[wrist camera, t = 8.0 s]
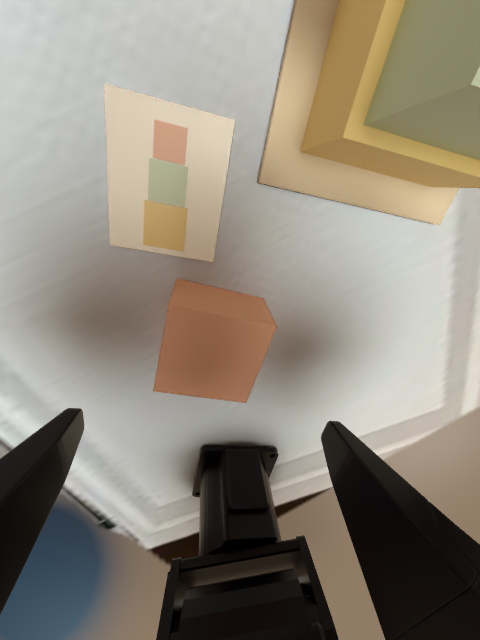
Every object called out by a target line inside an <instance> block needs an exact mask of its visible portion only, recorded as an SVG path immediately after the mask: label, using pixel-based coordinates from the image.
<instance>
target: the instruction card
mask: <svg viewBox="0 0 480 640" xmlns="http://www.w3.org/2000/svg"><path fill="white" fill-rule="evenodd" d="M104 93H105V123H106V152H107V181H108V210H109V239H110V245H113V246H119V247H125V248H131V249H137V250H143V251H149V252H155V253H161V254H167V255H173V256H179V257H185V258H191V259H197V260H203V261H209V262H213V261H214V254H215V248H216V241H217V235H218V228H219V222H220V215H221V209H222V202H223V196H224V189H225V183H226V176H227V170H228V163H229V156H230V150H231V143H232V137H233V130H234V124H235V120H233V119H230V118H226V117H222V116H219V115H215V114H212V113H208V112H205V111H201V110H197V109H194V108H190V107H187V106H183V105H180V104H176V103H172V102H169V101H165V100H162V99H158V98H155V97H151V96H147V95H144V94H140V93H137V92H133V91H130V90H126V89H122V88H119V87H115V86H112V85H108V84H105V83H104Z"/></svg>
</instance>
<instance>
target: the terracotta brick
mask: <svg viewBox="0 0 480 640" xmlns="http://www.w3.org/2000/svg"><path fill="white" fill-rule="evenodd" d="M276 328H277V325H276V323H275V321H274V319H273V317H272V315H271V313H270V311H269V309H268V307H267V305H266V303H265V301H264V299H263V298H260V297H255V296H251V295H247V294H242V293H238V292H234V291H229V290H225V289H221V288H216V287H212V286H208V285H203V284H199V283H195V282H190V281H186V280H182V279H177V280H176V283H175V286H174V289H173V292H172V295H171V299H170V302H169V305H168V311H167V317H166V322H165V328H164V333H163V339H162V345H161V350H160V356H159V361H158V367H157V372H156V378H155V384H154V389H153V391H156V392H164V393H172V394H180V395H188V396H196V397H203V398H211V399H219V400H227V401H235V402H243V403H246V402H247V400H248V397H249V395H250V392H251V390H252V387H253V385H254V382H255V380H256V377H257V375H258V372H259V370H260V367H261V365H262V362H263V360H264V358H265V355H266V353H267V350H268V348H269V345H270V343H271V340H272V338H273V335H274V333H275V330H276Z"/></svg>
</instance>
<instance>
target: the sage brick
mask: <svg viewBox="0 0 480 640" xmlns="http://www.w3.org/2000/svg"><path fill="white" fill-rule="evenodd" d="M363 125H366V126H369V127H372V128H375V129H379V130H382V131H385V132H388V133H392V134H395V135H398V136H401V137H405V138H408V139H411V140H414V141H418V142H421V143H424V144H427V145H431V146H434V147H437V148H440V149H444V150H447V151H450V152H453V153H457V154H460V155H463V156H466V157H470V158H473V159H476V160H479V161H480V0H406V1H405V4H404V7H403V10H402V13H401V16H400V19H399V22H398V25H397V28H396V31H395V34H394V37H393V39H392V42H391V45H390V48H389V51H388V54H387V57H386V60H385V63H384V66H383V69H382V72H381V75H380V78H379V80H378V83H377V86H376V89H375V92H374V95H373V98H372V101H371V104H370V107H369V110H368V113H367V116H366V119H365V121H364V124H363Z"/></svg>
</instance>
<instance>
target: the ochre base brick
mask: <svg viewBox="0 0 480 640" xmlns="http://www.w3.org/2000/svg"><path fill="white" fill-rule="evenodd" d="M405 1H406V0H339V3H338V7H337V11H336V14H335V18H334V22H333V26H332V30H331V34H330V38H329V41H328V45H327V49H326V53H325V57H324V61H323V65H322V68H321V72H320V76H319V80H318V84H317V88H316V92H315V96H314V99H313V103H312V107H311V111H310V115H309V119H308V123H307V126H306V130H305V134H304V138H303V142H302V146H301V150H300V152H302V153H306V154H309V155H313V156H317V157H321V158H324V159H328V160H332V161H336V162H339V163H343V164H347V165H350V166H354V167H358V168H362V169H365V170H369V171H373V172H376V173H380V174H384V175H388V176H391V177H395V178H399V179H403V180H406V181H410V182H414V183H417V184H421V185H425V186H429V187H442V188H480V161H479V160H476V159H473V158H470V157H466V156H463V155H460V154H457V153H453V152H450V151H447V150H444V149H440V148H437V147H434V146H431V145H427V144H424V143H421V142H418V141H414V140H411V139H408V138H405V137H401V136H398V135H395V134H392V133H388V132H385V131H382V130H379V129H375V128H372V127H369V126H366V125H363V124H364V121H365V119H366V116H367V113H368V110H369V107H370V104H371V101H372V98H373V95H374V92H375V89H376V86H377V83H378V80H379V78H380V75H381V72H382V69H383V66H384V63H385V60H386V57H387V54H388V51H389V48H390V45H391V42H392V39H393V37H394V34H395V31H396V28H397V25H398V22H399V19H400V16H401V13H402V10H403V7H404V4H405Z"/></svg>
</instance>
